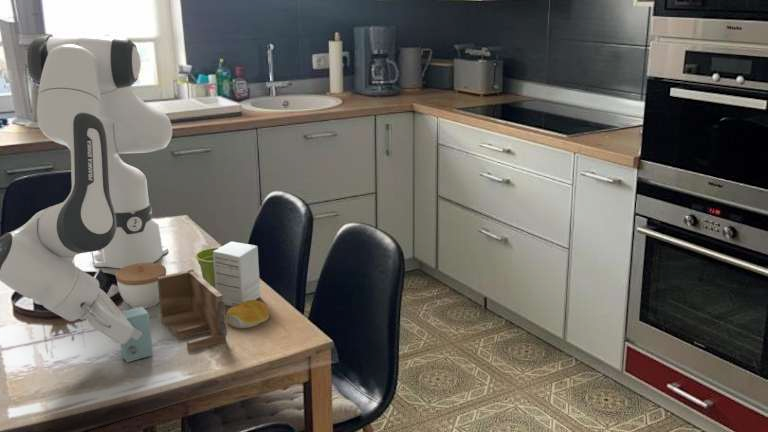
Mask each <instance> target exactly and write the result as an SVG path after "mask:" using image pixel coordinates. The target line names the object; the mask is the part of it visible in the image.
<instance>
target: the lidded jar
mask: <svg viewBox="0 0 768 432" xmlns="http://www.w3.org/2000/svg"><path fill="white" fill-rule="evenodd" d="M165 275H167V268H166V266H164V265H163V264H161V263H157V262H156V263H155V262H153V263H138V264H133V265H129V266H126V267H123V268H119V270H117V272H116V273H115V278H116V282H117V283H116V284H117V287H118V288H117V289H118V292H119V295H120V297H121V298H122V300H123V301H124V302H125V303H126V304H128V305H130V307H131V308H132V309H134V308H138V307H142V306H143V308H144V309H145V310H146V309H150V308H153V307H155V306H157V305H158V304H159V303H160V300H159V290H158V281H157V277H161V276H165Z"/></svg>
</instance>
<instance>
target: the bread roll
mask: <svg viewBox="0 0 768 432" xmlns="http://www.w3.org/2000/svg"><path fill="white" fill-rule="evenodd" d="M269 317H270V311H269V308H268V307H267V305H266V304H265V303H263V302H262V301H259V300H257V299H256V300H251V301H246V302H243V303H240V304H239V305H237V306H234V307H232V306H230V308H228V310H227V311H226V312H225V322H226V324H228V325H230V326H231V327H234V328H238V329H248V328H253V327H255V326H258V325H260V324H261V323H264V322H266V321H268V319H269Z"/></svg>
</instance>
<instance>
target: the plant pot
mask: <svg viewBox="0 0 768 432" xmlns="http://www.w3.org/2000/svg"><path fill="white" fill-rule="evenodd" d="M219 248H220V246H219V247H209V248H205V249H202V250H200V251H198V252H197V253H196V254H195V259H196V260H197V263H198V264H199V267H200V270H201V275H202V276H201V277H202V278H203V279H204V280H205V281H207V282H208V283H209V284H210V285H211V286H212V287H214V288H215V277H214V262H213V251H215V250H217V249H219Z"/></svg>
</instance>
